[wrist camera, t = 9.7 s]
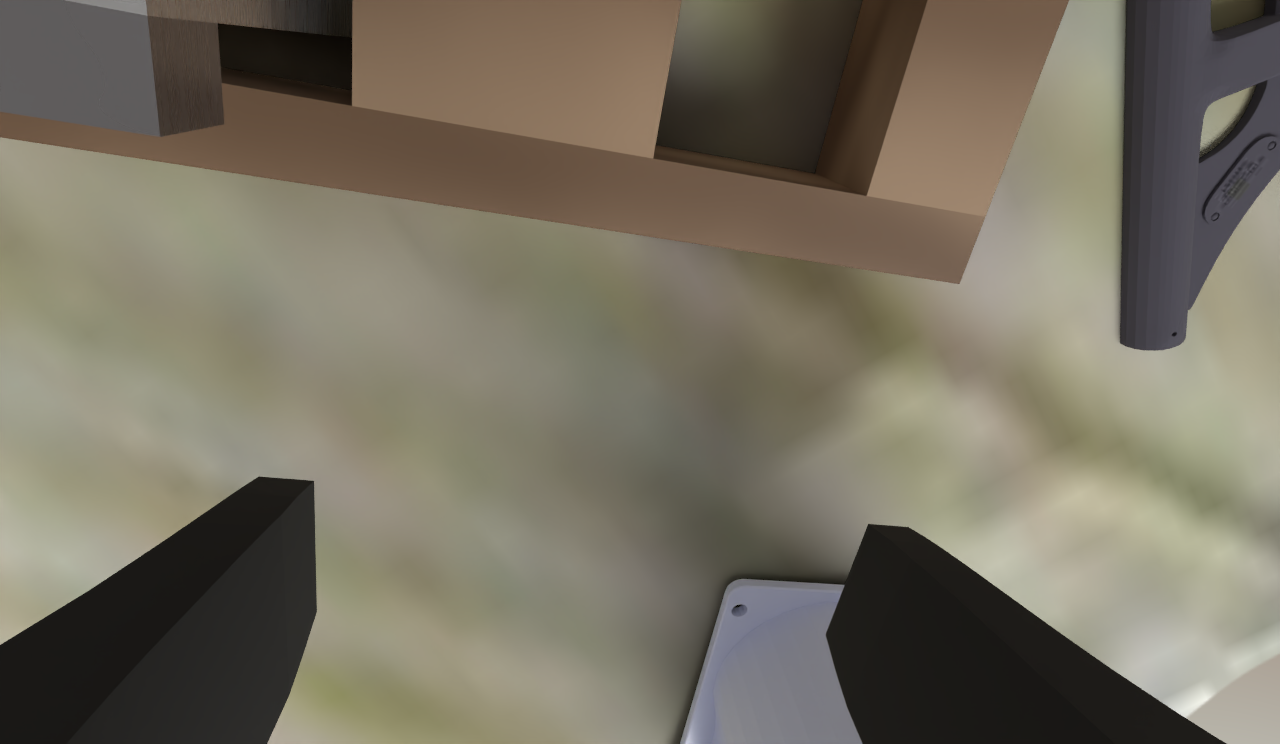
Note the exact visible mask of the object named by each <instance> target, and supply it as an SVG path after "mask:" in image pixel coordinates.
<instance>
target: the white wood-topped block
mask: <svg viewBox="0 0 1280 744" xmlns="http://www.w3.org/2000/svg"><path fill="white" fill-rule="evenodd" d="M217 23H220V24H230V25H239V26H249V27H258V28H267V29H277V30H286V31H296V32H305V33H314V34H324V35H333V36H343V37H352V0H0V112H5V113H11V114H18V115H24V116H30V117H37V118H43V119H49V120H56V121H62V122H68V123H75V124H81V125H87V126H94V127H100V128H106V129H112V130H119V131H125V132H131V133H138V134H144V135H150V136H157V137H163V136H168V135H173V134H178V133H183V132H188V131H193V130H198V129H203V128H208V127H213V126H218V125H223V124H224V111H223V96H222V82H221V67H220V53H219V38H218V24H217Z"/></svg>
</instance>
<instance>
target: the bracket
mask: <svg viewBox="0 0 1280 744" xmlns="http://www.w3.org/2000/svg"><path fill="white" fill-rule="evenodd" d="M1256 84H1257V85H1256ZM1253 85H1256V89H1255V91H1254V94H1253V96H1252V99H1251V101H1250V103H1249V105H1248V107H1247V109H1246V111H1245V113H1244V115H1243V116H1242V118H1241V119H1240V121H1239V122H1238V124H1237V125H1236V126H1235V128H1234V129H1233V130H1232V131H1231V133H1230V134H1229V135H1228V136H1227V137H1226V138H1225V139H1224V140H1223V141H1222V142H1221V143H1220V144H1219V145H1218V146H1216V147H1215V148H1214V149H1212V150H1211V151H1210V152H1208V153H1207V154H1205V155H1204V156H1202V157H1200V158H1199V153H1200V141H1201V132H1202V125H1203V118H1204V114H1205V111H1206V109H1207V107H1208V106H1209V105H1210V104H1211V103H1213V102H1214V101H1216V100H1218V99H1221V98H1223V97H1225V96H1228V95H1231V94H1233V93H1236V92H1238V91H1241V90H1243V89H1246V88H1248V87H1251V86H1253ZM1279 170H1280V0H1265V8H1264V15H1263V16H1261V17H1259V18H1256V19H1253V20H1250V21H1247V22H1245V23H1242V24H1239V25H1235V26H1232V27H1229V28H1225V29H1222V30H1219V31H1214V32H1212V30H1211V0H1127V8H1126V59H1125V110H1124V161H1123V212H1122V263H1121V323H1120V343H1121V344H1123V345H1125V346H1127V347H1130V348H1134V349H1140V350H1165V349H1169V348H1173V347H1176V346H1178V345H1180V344H1181V343H1182V342H1183V341H1184V340H1185V337H1186V326H1187V313H1188V310H1189V309H1190V308H1191V307H1192V306H1193V304H1194V302H1195V300H1196V298H1197V296H1198V294H1199V292H1200V290H1201V288H1202V286H1203V284H1204V282H1205V280H1206V278H1207V276H1208V275H1209V273H1210V271H1211V269H1212V267H1213V265H1214V263H1215V261H1216V260H1217V258H1218V256H1219V255H1220V253H1221V251H1222V249H1223V248H1224V246H1225V244H1226V243H1227V241H1228V239H1229V238H1230V236H1231V235H1232V233H1233V231H1234V230H1235V228H1236V227H1237V225H1238V224H1239V222H1240V221H1241V219H1242V218H1243V216H1244V215H1245V214H1246V212H1247V211H1248V209H1249V208H1250V207H1251V205H1252V204H1253V203H1254V201H1255V200H1256V198H1257V197H1258V196H1259V195H1260V193H1261V192H1262V191H1263V189H1264V188H1265V187H1266V185H1267V184H1268V183H1269V182H1270V181H1271V179H1272V178H1273V177H1274V176H1275V175H1276V173H1277V172H1278V171H1279Z"/></svg>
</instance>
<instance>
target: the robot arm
mask: <svg viewBox="0 0 1280 744" xmlns="http://www.w3.org/2000/svg"><path fill="white" fill-rule="evenodd" d="M740 604H742V605H741V606H740V607H736V608H733V607H734V606H736V605H740ZM316 612H317V604H316V557H315V510H314V481H308V480H295V479H282V478H269V477H258V478H256V479H254V480H253V481H251V482H250V483H248V484H247V485H245V486H244V487H242V488H241V489H239V490H238V491H236V492H235V493H233V494H232V495H230V496H229V497H227V498H226V499H224V500H223V501H222V502H220V503H219V504H217V505H216V506H214V507H213V508H211V509H210V510H208V511H207V512H206V513H204V514H203V515H201V516H200V517H198V518H197V519H195V520H194V521H192V522H191V523H190V524H188V525H187V526H185V527H184V528H182V529H181V530H179V531H178V532H176V533H175V534H173V535H172V536H171V537H169V538H168V539H166V540H165V541H163V542H162V543H160V544H159V545H157V546H156V547H154V548H153V549H151V550H150V551H148V552H147V553H145V554H144V555H142V556H141V557H139V558H138V559H136V560H135V561H133V562H132V563H130V564H129V565H127V566H126V567H124V568H123V569H121V570H119V571H118V572H116V573H115V574H113V575H112V576H110V577H109V578H107V579H106V580H104V581H103V582H101V583H100V584H98V585H97V586H95V587H94V588H92V589H91V590H89V591H88V592H86V593H84V594H83V595H81V596H79V597H78V598H76V599H75V600H73V601H71V602H70V603H68V604H66V605H65V606H63V607H62V608H60V609H58V610H57V611H55V612H53V613H52V614H50V615H48V616H47V617H45V618H44V619H42V620H40V621H39V622H37V623H35V624H34V625H32V626H30V627H29V628H27V629H26V630H24V631H22V632H21V633H19V634H17V635H16V636H14V637H13V638H11V639H9V640H8V641H6V642H4V643H3V644H1V645H0V744H267V742H268V740H269V738H270V736H271V734H272V732H273V729H274V727H275V725H276V723H277V721H278V718H279V716H280V714H281V712H282V710H283V707H284V705H285V703H286V701H287V699H288V696H289V694H290V691H291V688H292V685H293V682H294V679H295V677H296V674H297V671H298V668H299V665H300V662H301V659H302V656H303V653H304V650H305V647H306V644H307V640H308V637H309V634H310V631H311V628H312V625H313V622H314V619H315V616H316ZM680 744H1226V743H1224V742H1223V741H1221V740H1219V739H1218V738H1216V737H1214V736H1213V735H1211V734H1210V733H1208V732H1207V731H1205V730H1203V729H1202V728H1200V727H1199V726H1197V725H1195V724H1194V723H1192V722H1191V721H1189V720H1188V719H1186V718H1184V717H1183V716H1181V715H1180V714H1178V713H1177V712H1175V711H1174V710H1172V709H1171V708H1169V707H1168V706H1166V705H1165V704H1163V703H1162V702H1160V701H1159V700H1157V699H1156V698H1154V697H1153V696H1151V695H1150V694H1148V693H1147V692H1145V691H1144V690H1142V689H1141V688H1139V687H1138V686H1136V685H1135V684H1133V683H1132V682H1130V681H1129V680H1127V679H1126V678H1124V677H1123V676H1121V675H1120V674H1118V673H1117V672H1115V671H1114V670H1112V669H1111V668H1109V667H1108V666H1106V665H1105V664H1103V663H1102V662H1101V661H1099V660H1098V659H1096V658H1095V657H1093V656H1092V655H1090V654H1089V653H1088V652H1086V651H1085V650H1083V649H1082V648H1080V647H1079V646H1078V645H1076V644H1075V643H1073V642H1072V641H1070V640H1069V639H1068V638H1066V637H1065V636H1063V635H1062V634H1061V633H1059V632H1058V631H1056V630H1055V629H1054V628H1052V627H1051V626H1049V625H1048V624H1047V623H1045V622H1044V621H1042V620H1041V619H1040V618H1038V617H1037V616H1036V615H1034V614H1033V613H1031V612H1030V611H1029V610H1027V609H1026V608H1024V607H1023V606H1022V605H1020V604H1019V603H1018V602H1016V601H1015V600H1013V599H1012V598H1011V597H1009V596H1008V595H1007V594H1005V593H1004V592H1002V591H1001V590H1000V589H998V588H997V587H995V586H994V585H993V584H991V583H990V582H989V581H987V580H986V579H984V578H983V577H982V576H980V575H979V574H978V573H976V572H975V571H973V570H972V569H971V568H969V567H968V566H966V565H965V564H964V563H962V562H961V561H959V560H958V559H956V558H955V557H954V556H952V555H951V554H949V553H948V552H946V551H945V550H943V549H942V548H940V547H939V546H938V545H936V544H935V543H933V542H931V541H930V540H928V539H927V538H925V537H924V536H922V535H920V534H919V533H917V532H915V531H914V530H912V529H910V528H909V527H898V526H886V525H873V524H868V526H867V529H866V531H865V534H864V537H863V539H862V542H861V544H860V547H859V549H858V552H857V555H856V557H855V560H854V562H853V565H852V568H851V570H850V573H849V575H848V578H847V580H846V583H845V585H839V584H822V583H805V582H788V581H772V580H755V579H738V580H736V581H733V582H732V583H730V584H729V585H728V587H727V588H726V590H725V594H724V597H723V600H722V604H721V607H720V610H719V614H718V617H717V621H716V624H715V627H714V631H713V634H712V637H711V641H710V644H709V648H708V651H707V654H706V658H705V661H704V664H703V668H702V671H701V674H700V678H699V681H698V685H697V688H696V691H695V695H694V698H693V701H692V705H691V708H690V712H689V715H688V718H687V722H686V725H685V728H684V732H683V735H682V739H681V742H680Z"/></svg>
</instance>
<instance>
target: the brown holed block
mask: <svg viewBox="0 0 1280 744" xmlns="http://www.w3.org/2000/svg"><path fill="white" fill-rule="evenodd" d="M1068 1H1069V0H863V2H862V5H861V9H860V13H859V16H858V20H857V23H856V27H855V31H854V34H853V38H852V41H851V45H850V49H849V52H848V56H847V60H846V63H845V67H844V70H843V74H842V78H841V81H840V85H839V88H838V92H837V96H836V99H835V103H834V107H833V110H832V114H831V117H830V121H829V125H828V128H827V132H826V135H825V139H824V143H823V146H822V150H821V154H820V157H819V161H818V164H817V168H816V172H815V173H809V172H804V171H798V170H793V169H787V168H781V167H776V166H770V165H765V164H759V163H754V162H748V161H742V160H737V159H731V158H726V157H720V156H714V155H709V154H703V153H698V152H692V151H686V150H681V149H675V148H670V147H664V146H658V145H656V139H657V134H658V128H659V123H660V117H661V111H662V106H663V100H664V95H665V89H666V84H667V78H668V73H669V67H670V61H671V56H672V50H673V45H674V39H675V34H676V28H677V23H678V17H679V11H680V6H681V0H352V91H351V90H345V89H340V88H334V87H329V86H323V85H317V84H312V83H306V82H301V81H295V80H289V79H284V78H278V77H273V76H267V75H261V74H256V73H250V72H245V71H239V70H233V69H228V68H222V67H221V82H222V96H223V111H224V124H223V125H218V126H213V127H208V128H203V129H198V130H193V131H188V132H183V133H178V134H173V135H168V136H163V137H157V136H150V135H144V134H138V133H131V132H125V131H119V130H112V129H106V128H100V127H94V126H87V125H81V124H75V123H68V122H62V121H56V120H49V119H43V118H37V117H30V116H24V115H18V114H11V113H5V112H0V137H3V138H9V139H16V140H22V141H29V142H35V143H42V144H48V145H55V146H61V147H68V148H74V149H81V150H87V151H94V152H101V153H107V154H114V155H120V156H127V157H133V158H140V159H146V160H153V161H159V162H166V163H172V164H179V165H185V166H192V167H199V168H205V169H212V170H218V171H225V172H231V173H238V174H244V175H251V176H257V177H264V178H270V179H277V180H283V181H290V182H297V183H303V184H310V185H316V186H323V187H329V188H336V189H342V190H349V191H355V192H362V193H368V194H375V195H381V196H388V197H395V198H401V199H408V200H414V201H421V202H427V203H434V204H440V205H447V206H453V207H460V208H466V209H473V210H479V211H486V212H493V213H499V214H506V215H512V216H519V217H525V218H532V219H538V220H545V221H551V222H558V223H564V224H571V225H577V226H584V227H591V228H597V229H604V230H610V231H617V232H623V233H630V234H636V235H643V236H649V237H656V238H662V239H669V240H675V241H682V242H689V243H695V244H702V245H708V246H715V247H721V248H728V249H734V250H741V251H747V252H754V253H760V254H767V255H773V256H780V257H786V258H793V259H800V260H806V261H813V262H819V263H826V264H832V265H839V266H845V267H852V268H858V269H865V270H871V271H878V272H884V273H891V274H898V275H904V276H911V277H917V278H924V279H930V280H937V281H943V282H950V283H956V284H959V283H960V281H961V278H962V276H963V273H964V271H965V268H966V265H967V263H968V260H969V258H970V255H971V252H972V250H973V247H974V245H975V242H976V239H977V237H978V234H979V232H980V229H981V227H982V224H983V221H984V219H985V216H986V214H987V211H988V208H989V206H990V203H991V201H992V198H993V195H994V193H995V190H996V188H997V185H998V183H999V180H1000V177H1001V175H1002V172H1003V170H1004V167H1005V164H1006V162H1007V159H1008V157H1009V154H1010V151H1011V149H1012V146H1013V144H1014V141H1015V139H1016V136H1017V133H1018V131H1019V128H1020V126H1021V123H1022V120H1023V118H1024V115H1025V113H1026V110H1027V107H1028V105H1029V102H1030V100H1031V97H1032V95H1033V92H1034V89H1035V87H1036V84H1037V82H1038V79H1039V76H1040V74H1041V71H1042V69H1043V66H1044V63H1045V61H1046V58H1047V56H1048V53H1049V51H1050V48H1051V45H1052V43H1053V40H1054V38H1055V35H1056V32H1057V30H1058V27H1059V25H1060V22H1061V19H1062V17H1063V14H1064V12H1065V9H1066V7H1067V4H1068Z"/></svg>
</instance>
